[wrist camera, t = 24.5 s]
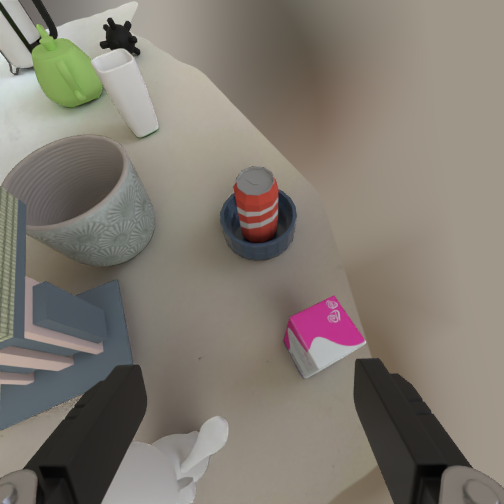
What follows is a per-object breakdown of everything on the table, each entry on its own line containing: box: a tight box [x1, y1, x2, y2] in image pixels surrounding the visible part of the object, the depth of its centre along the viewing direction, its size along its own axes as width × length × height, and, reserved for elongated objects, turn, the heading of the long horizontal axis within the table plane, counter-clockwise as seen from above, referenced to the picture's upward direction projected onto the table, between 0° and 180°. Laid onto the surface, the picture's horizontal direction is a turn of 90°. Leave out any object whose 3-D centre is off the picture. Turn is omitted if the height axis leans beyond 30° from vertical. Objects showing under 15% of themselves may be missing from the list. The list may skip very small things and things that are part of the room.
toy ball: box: [100, 18, 140, 55], centre depth 76 cm, size 11×11×12 cm
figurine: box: [101, 416, 228, 504], centre depth 22 cm, size 16×8×20 cm, turn 113°
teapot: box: [32, 24, 103, 108], centre depth 66 cm, size 22×15×13 cm
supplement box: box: [284, 296, 366, 379], centre depth 31 cm, size 6×6×12 cm
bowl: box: [220, 189, 297, 260], centre depth 44 cm, size 12×12×5 cm
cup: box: [91, 49, 159, 137], centre depth 56 cm, size 7×7×15 cm
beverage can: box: [234, 166, 279, 243], centre depth 40 cm, size 6×6×12 cm
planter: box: [1, 135, 155, 266], centre depth 41 cm, size 17×17×15 cm
